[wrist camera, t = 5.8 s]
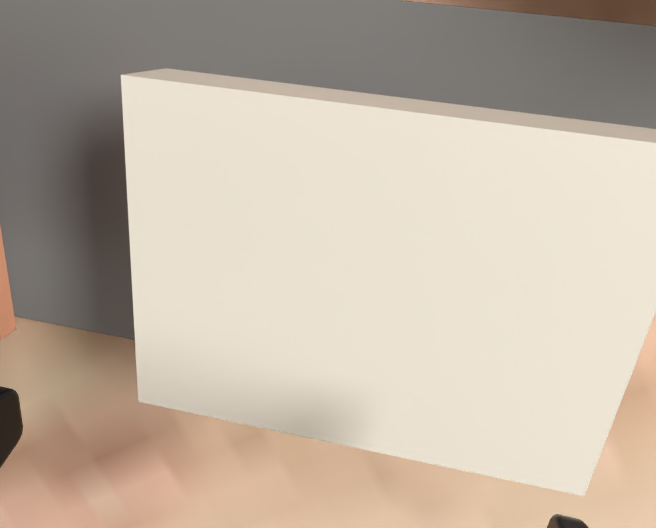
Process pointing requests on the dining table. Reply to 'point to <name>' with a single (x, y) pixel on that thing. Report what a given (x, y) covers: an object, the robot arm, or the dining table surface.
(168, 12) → the key panel
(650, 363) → the dining table surface
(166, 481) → the dining table surface
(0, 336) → the terracotta key
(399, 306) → the cream rectangular block
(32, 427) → the dining table surface
